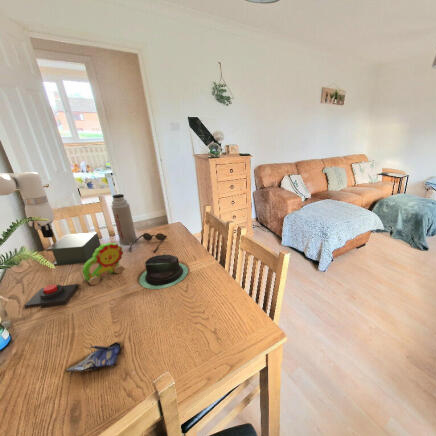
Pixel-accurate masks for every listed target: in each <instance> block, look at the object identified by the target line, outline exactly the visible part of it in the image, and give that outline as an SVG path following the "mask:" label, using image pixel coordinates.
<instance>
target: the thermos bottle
mask: <svg viewBox="0 0 436 436" xmlns="http://www.w3.org/2000/svg"><path fill="white" fill-rule="evenodd" d="M112 198H113V199H112V201H111V210H112V215H113V218H114V222H115V226H116V231H117V236H118V239H119V243H120V245H123V246H127V245H131V244H132V243H133V242H134V241H135V240H137V239H138V238H137V234H136V231H135V225H134V221H133V216H132V212H131V206H130V204H129V202H128V200H127V199H125V194H123V193H119V194H113V195H112ZM137 241H138V240H137Z"/></svg>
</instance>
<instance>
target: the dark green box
mask: <svg viewBox="0 0 436 436" xmlns="http://www.w3.org/2000/svg"><path fill="white" fill-rule="evenodd" d="M56 240H57V241H56V242H55V243H52V244H51V245H49V246H48V247H47V248H46V249H45V250H46V252H52V254H53V257H54V260H55V261H54V262H53V263H52V264H54V265H55V266H54V267H56V266H67V265H78V264H85V263H86V262H87V261H88V260H89V259H90V258H92V255H93V253H94V252H95V250H96V249H97V248H99V246H100V245H102V244H101V242H100V237H99V233H98V232H95V231H94V232H79V233H66V234H63V236H61V237H60V238H59V239H56Z"/></svg>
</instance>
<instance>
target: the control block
mask: <svg viewBox="0 0 436 436" xmlns="http://www.w3.org/2000/svg"><path fill="white" fill-rule="evenodd" d="M55 285H56V286H57V288H58V290H57V291H55V292H53V293H50V294H45V292H44V290H43V289H44V288H45V287H41V288H40V289H39V290H38V291H37V292H36V293H35V294H34V295H32V297H31V298H30V299H29V300H28V301H26V303H24V305H23V306H24V309H29V308H37V307H40V309H43V308H51V307H58V306H65V305H66V306H67V305H68V303H69V302H70V301H71V299H72V298H73V297H74V295H75V294H76V293H77V292H78V290H79V289H80V287H79V284H78V283H73V284H65V285H61V284H55Z"/></svg>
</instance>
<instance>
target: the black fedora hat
mask: <svg viewBox="0 0 436 436" xmlns="http://www.w3.org/2000/svg"><path fill="white" fill-rule="evenodd" d="M144 266H145V271H144V272H143V273H141V275H140V277H139V281H138V282H139V284H140V285H141V286H142V287H143V288H146V289H148V290H149V289H150V290H160V289H166V288H170V287H173V286H175V285H177V284H178V283H180V282H182V281H183V280H184V279H185V278H186V277H187V276H188V273H189V269H188V267H187V266H186V265H185V264H183V263H181V262H179V257H177V256H176V255H172V254H168V253H167V254H165V253H163V254H158V255H157V254H156V255H153V256H151V257H149V258H148V259H147V260H145V261H144Z"/></svg>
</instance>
